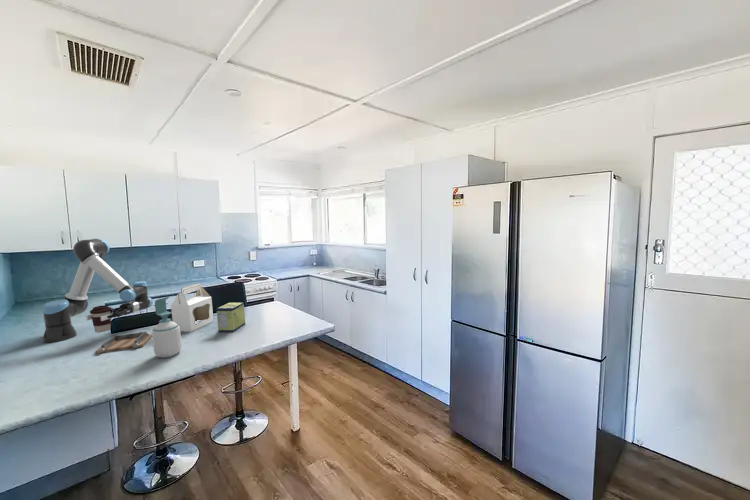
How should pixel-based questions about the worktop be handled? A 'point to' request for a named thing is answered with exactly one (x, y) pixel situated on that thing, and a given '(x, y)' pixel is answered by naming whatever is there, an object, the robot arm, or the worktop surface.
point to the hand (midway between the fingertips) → (94, 318)
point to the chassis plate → (125, 342)
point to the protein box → (230, 317)
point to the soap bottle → (165, 332)
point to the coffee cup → (96, 318)
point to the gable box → (192, 308)
